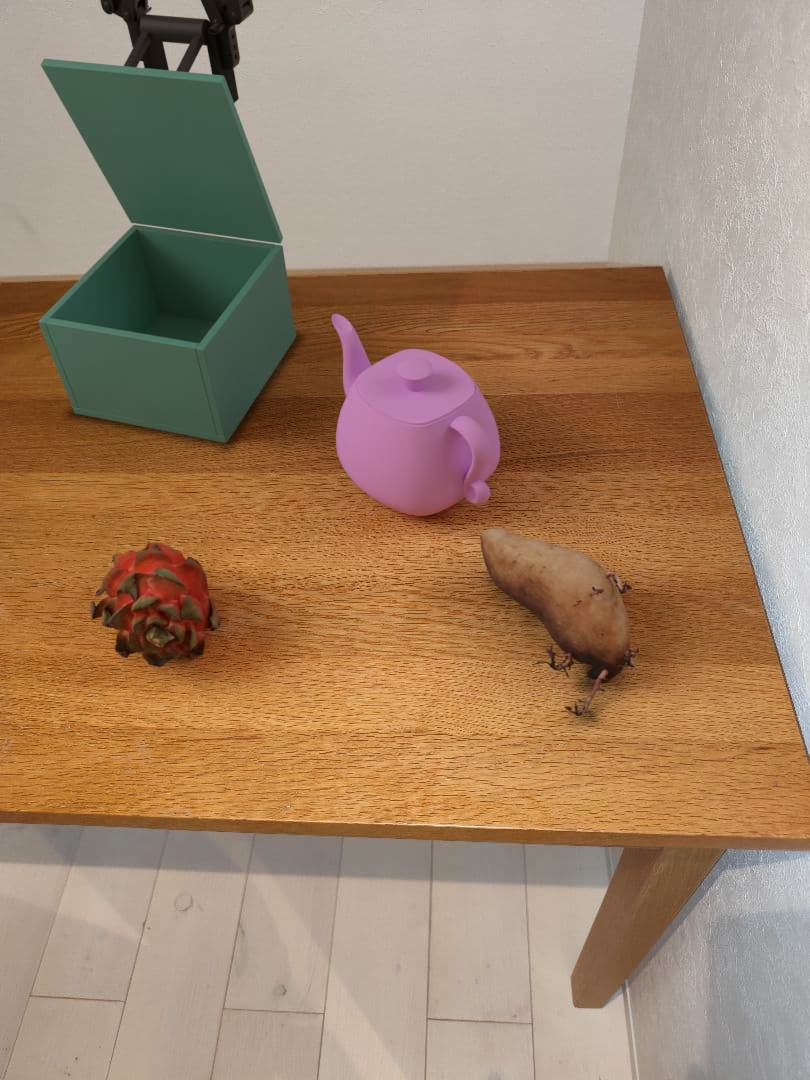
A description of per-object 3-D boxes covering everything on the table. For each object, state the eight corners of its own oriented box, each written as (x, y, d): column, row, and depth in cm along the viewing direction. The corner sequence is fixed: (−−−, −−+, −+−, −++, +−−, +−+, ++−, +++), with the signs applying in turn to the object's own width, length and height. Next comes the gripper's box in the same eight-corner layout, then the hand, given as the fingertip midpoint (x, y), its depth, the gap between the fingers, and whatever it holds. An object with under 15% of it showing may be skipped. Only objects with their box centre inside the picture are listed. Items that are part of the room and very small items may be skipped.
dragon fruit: (201, 704, 67) (142, 617, 75) (266, 614, 67) (199, 536, 75) (109, 679, 61) (54, 588, 69) (179, 580, 60) (115, 498, 68)
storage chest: (226, 443, 85) (203, 349, 77) (74, 413, 88) (37, 321, 80) (296, 336, 96) (282, 245, 88) (158, 314, 99) (133, 224, 91)
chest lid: (220, 82, 70) (259, 1, 74) (39, 64, 74) (84, -12, 77) (280, 244, 87) (310, 172, 90) (130, 223, 91) (164, 155, 94)
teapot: (540, 486, 79) (552, 380, 71) (428, 564, 74) (426, 459, 65) (394, 383, 90) (389, 280, 81) (287, 445, 84) (268, 341, 75)
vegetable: (402, 593, 68) (453, 484, 63) (487, 568, 76) (538, 471, 71) (557, 736, 60) (628, 625, 56) (632, 692, 69) (700, 592, 64)
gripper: (269, -233, 66) (306, 94, 83) (47, -235, 70) (125, 76, 87) (225, -214, 61) (273, 128, 78) (-11, -217, 65) (85, 107, 82)
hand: (195, 100), depth 83 cm, fingers closed on chest lid, 6 cm apart
